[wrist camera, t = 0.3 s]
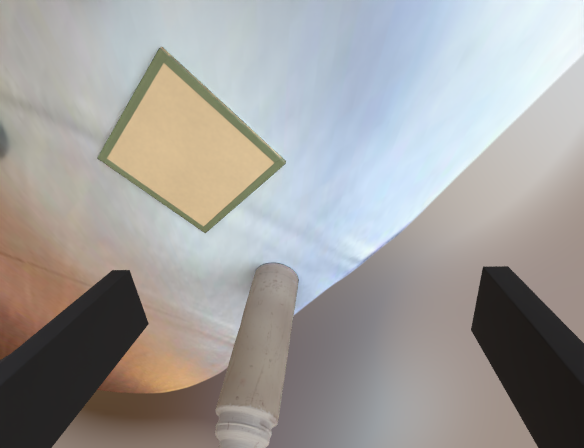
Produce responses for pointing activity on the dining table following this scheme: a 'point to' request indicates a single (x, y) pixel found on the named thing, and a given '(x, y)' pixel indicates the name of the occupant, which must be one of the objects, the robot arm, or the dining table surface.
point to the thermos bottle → (258, 361)
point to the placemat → (187, 146)
